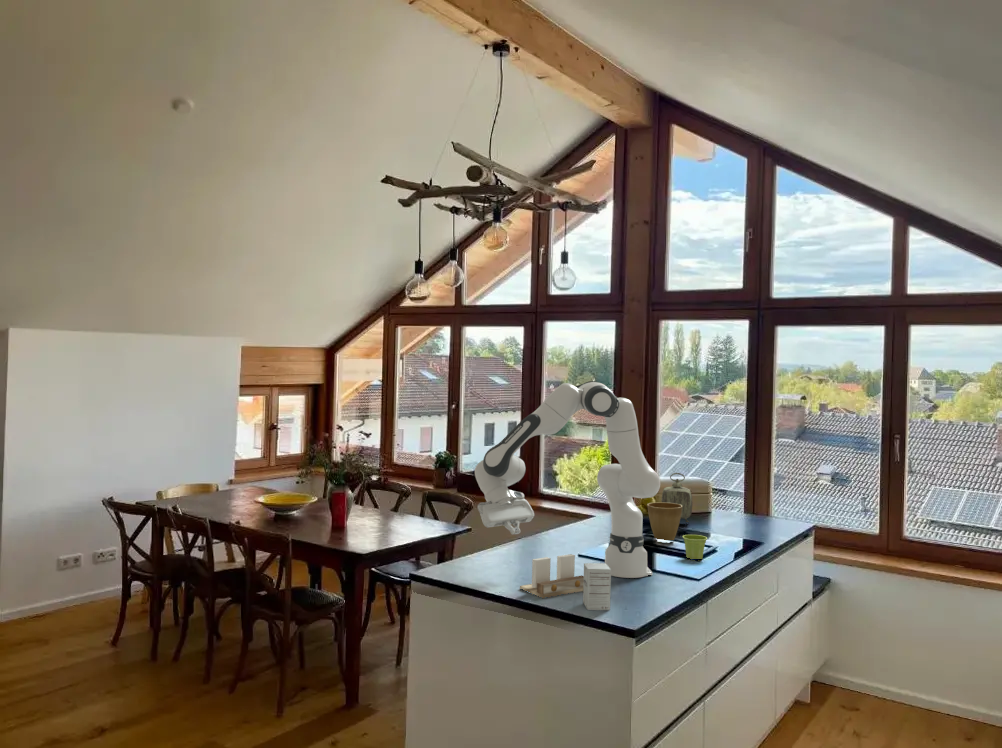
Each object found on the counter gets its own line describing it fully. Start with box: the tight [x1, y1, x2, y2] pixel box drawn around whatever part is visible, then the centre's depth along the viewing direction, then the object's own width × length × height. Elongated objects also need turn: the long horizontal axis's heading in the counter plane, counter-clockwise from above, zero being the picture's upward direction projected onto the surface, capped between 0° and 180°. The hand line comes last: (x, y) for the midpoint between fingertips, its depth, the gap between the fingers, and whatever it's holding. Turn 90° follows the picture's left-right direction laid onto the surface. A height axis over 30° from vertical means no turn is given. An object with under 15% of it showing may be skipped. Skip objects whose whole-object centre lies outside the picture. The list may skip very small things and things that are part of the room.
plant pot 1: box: [646, 501, 682, 540], centre depth 343 cm, size 15×15×16 cm
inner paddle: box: [556, 553, 576, 580], centre depth 264 cm, size 2×6×9 cm, turn 126°
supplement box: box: [582, 562, 612, 611], centre depth 243 cm, size 7×7×13 cm
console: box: [519, 575, 584, 599], centre depth 261 cm, size 12×19×4 cm, turn 126°
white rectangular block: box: [531, 556, 552, 588], centre depth 259 cm, size 2×6×9 cm, turn 126°
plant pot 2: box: [682, 534, 708, 560], centre depth 311 cm, size 9×9×9 cm
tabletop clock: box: [661, 472, 693, 523], centre depth 384 cm, size 14×9×25 cm, turn 79°
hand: (516, 533), depth 270 cm, fingers closed
